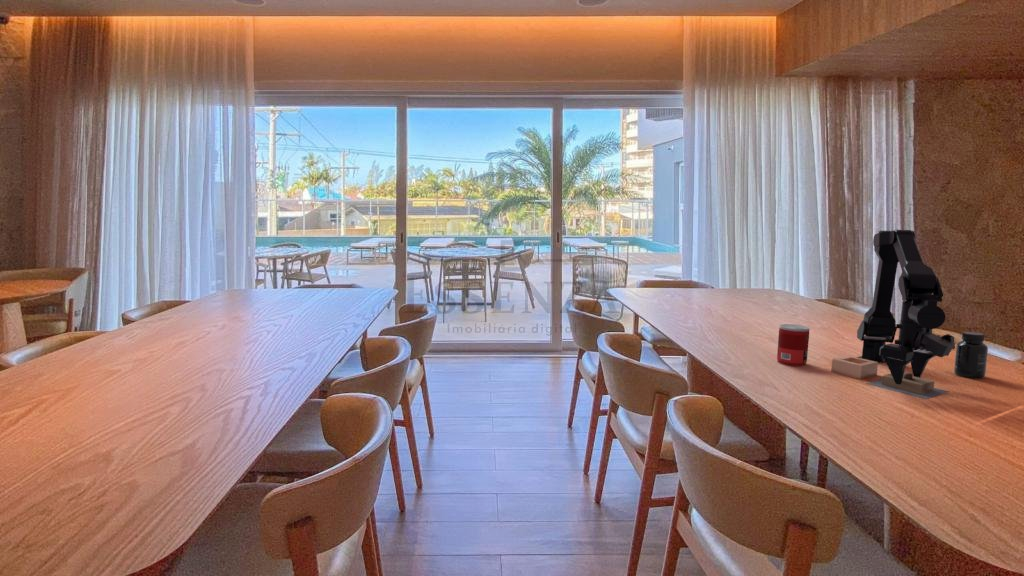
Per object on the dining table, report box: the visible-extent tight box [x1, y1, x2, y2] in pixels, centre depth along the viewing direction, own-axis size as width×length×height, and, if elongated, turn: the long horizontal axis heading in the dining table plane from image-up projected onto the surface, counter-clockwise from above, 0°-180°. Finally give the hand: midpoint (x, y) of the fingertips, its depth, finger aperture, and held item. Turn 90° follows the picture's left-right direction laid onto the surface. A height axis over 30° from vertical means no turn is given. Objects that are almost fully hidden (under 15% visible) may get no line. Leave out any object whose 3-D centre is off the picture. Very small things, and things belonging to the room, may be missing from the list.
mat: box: [865, 378, 951, 400], centre depth 147 cm, size 12×14×1 cm
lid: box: [881, 372, 935, 394], centre depth 147 cm, size 6×9×4 cm
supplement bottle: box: [953, 331, 989, 379], centre depth 159 cm, size 7×7×12 cm
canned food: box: [776, 323, 810, 367], centre depth 170 cm, size 8×8×11 cm
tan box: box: [830, 355, 879, 380], centre depth 159 cm, size 8×8×4 cm
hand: (907, 381), depth 147 cm, fingers open, 9 cm apart
